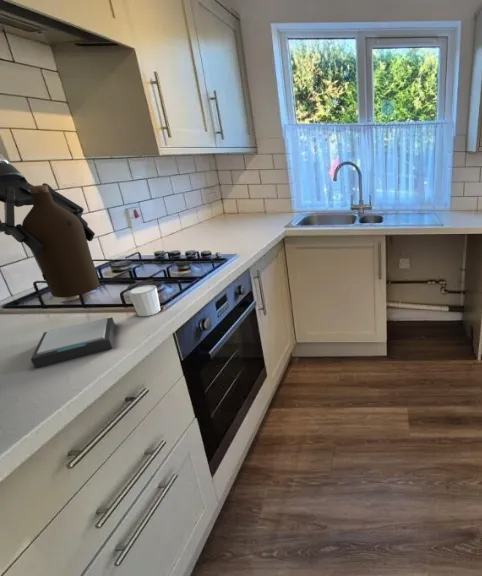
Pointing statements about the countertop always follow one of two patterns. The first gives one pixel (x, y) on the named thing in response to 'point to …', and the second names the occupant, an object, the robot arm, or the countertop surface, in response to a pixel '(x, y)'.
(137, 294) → the white faceted cylinder
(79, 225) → the olive oil
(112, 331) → the scale
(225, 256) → the countertop surface
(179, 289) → the countertop surface
